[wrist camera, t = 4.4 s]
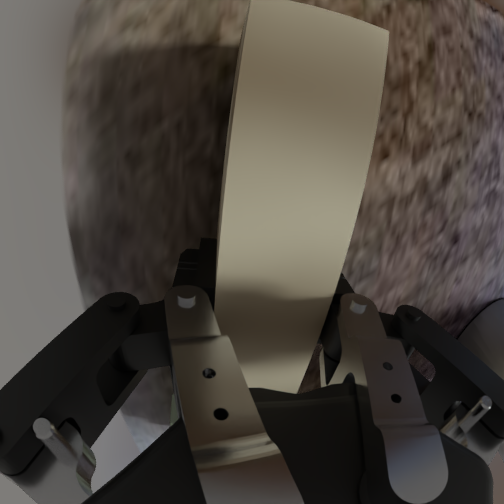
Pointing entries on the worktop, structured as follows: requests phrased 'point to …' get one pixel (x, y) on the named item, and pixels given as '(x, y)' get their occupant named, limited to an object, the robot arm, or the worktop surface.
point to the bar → (292, 180)
